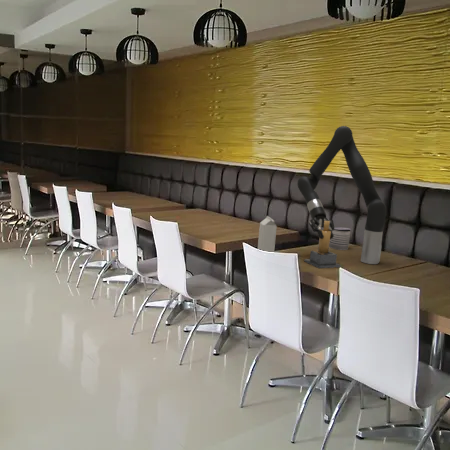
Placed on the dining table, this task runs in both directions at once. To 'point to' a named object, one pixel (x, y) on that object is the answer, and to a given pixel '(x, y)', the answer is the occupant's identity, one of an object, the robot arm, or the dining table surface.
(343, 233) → the can
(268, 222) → the milk carton
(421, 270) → the dining table surface
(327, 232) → the amber bottle
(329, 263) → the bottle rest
